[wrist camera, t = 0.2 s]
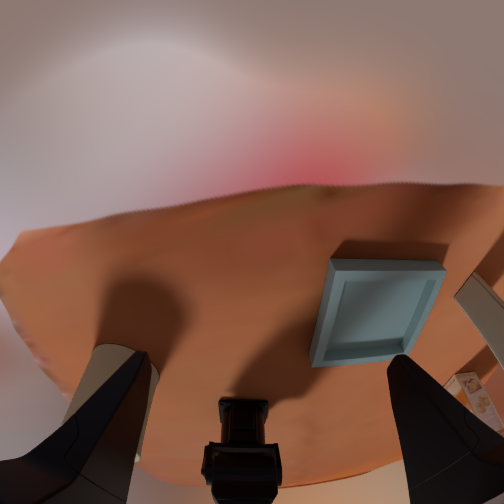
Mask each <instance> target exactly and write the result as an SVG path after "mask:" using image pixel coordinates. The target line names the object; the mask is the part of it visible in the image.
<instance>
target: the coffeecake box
mask: <svg viewBox="0 0 504 504" xmlns="http://www.w3.org/2000/svg"><path fill="white" fill-rule="evenodd" d="M444 388H445V389H446V390H447V391H448V392H449V393H450V394H452V395H453V396H454V397H455V398H456V399H457V400H458V401H459V402H461V403H462V404H463V406H465V407H466V408H467V409H468V410H469V411H471V412H472V413H473V414H474V415H475V416H476V417H478V418H479V419H480V420H481V421H483V422H484V423H485V424H487V425H488V426H489V427H491V428H492V429H493V430H495V431H496V432H497V433H499V434H500V435H502V436H503V437H504V426H503V424H502V421H501V419H500V417H499V415H498V413H497V411H496V409H495V407H494V406H493V404H492V402H491V400H490V398H489V396H488V394H487V392H486V390H485V389H484V387H483V385H482V383H481V381H480V380H479V378H478V376H477V375H476V373H475V371H473V372H469V373H459V374H454V375H453V376H452V378H451V379H450V380H449V381H448V382H447V383H446V385H445V386H444Z"/></svg>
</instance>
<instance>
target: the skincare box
mask: <svg viewBox="0 0 504 504" xmlns="http://www.w3.org/2000/svg"><path fill="white" fill-rule="evenodd" d="M454 299H455V301H456V302H457V303H458V305H459V306H460V307H461V308H462V310H463V311H464V312H465V314H466V315H467V316H468V318H469V319H470V320H471V322H472V323H473V325H474V326H475V327H476V329H477V330H478V331H479V333H480V334H481V336H482V337H483V339H484V340H485V342H486V343H487V345H488V346H489V348H490V349H491V351H492V352H493V354H494V355H495V357H496V358H497V360H498V362H499V363H500V365H501V366H502V368H503V370H504V302H503V300H502V299H501V298H500V297H499V296H498V295H497V294H496V293H495V291H494V290H493V289H492V288H491V287H490V286H489V285H488V284H487V283H486V282H485V281H484V280H483V279H482V278H481V277H480V276H479V275H478V274H477V273H476V272H475V271H474V272H473V273H472V275H471V276H470V277H469V279H468V280H467V281H466V283H465V284H464V285H463V287H462V288H461V289H460V290H459V292H458V293H457V294H456V295H455V297H454Z"/></svg>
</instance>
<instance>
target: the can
mask: <svg viewBox="0 0 504 504" xmlns="http://www.w3.org/2000/svg"><path fill="white" fill-rule="evenodd" d="M134 352H135V351H134V350H132V349H130V348H127V347H124V346H121V345H116V344H102V345H99V346H97V347H96V348H95V349H94V350H93V351H92V354H91V358H90V361H89V363H88V365H87V367H86V370H85V372H84V374H83V376H82V378H81V381H80V383H79V385H78V387H77V390H76V392H75V394H74V397H73V399H72V401H71V403H70V406H69V408H68V411H67V413H66V415H65V417H64V420H63V422H62V423H61V426H62V425H63V424H64V423H65V422H66V421H67V420H68V419H69V418H70V417H71V416H72V415H73V414H75V412H76V411H77V410H78V409H79V408H80V407H81V406H82V405H83V404H84V403H85V402H86V401H87V400H88V399H89V397H90V396H91V395H92V394H93V393H94V392H95V391H96V390H97V389H98V388H99V387H100V386H101V385H102V384H103V383H104V382H105V381H106V380H107V379H108V378H109V377H110V376H111V375H112V374H113V373H114V372H115V371H116V370H117V369H118V368H119V367H120V366H121V365H122V364H123V363H124V362H125V361H126V360H127V359H128V358H129V357H130V356H131V355H132V354H133V353H134ZM151 365H152V375H151V382H150V389H149V397H148V404H147V410H146V415H145V419H144V423H143V427H142V431H141V435H140V439H139V444H138V448H137V453H136V457H135V462H138V461H139V460H140V458H141V457H140V455H141V449H142V444H143V439H144V434H145V429H146V425H147V420H148V416H149V412H150V408H151V404H152V399H153V396H154V392H155V389H156V386H157V384H158V382H159V375H158V372H157V370H156V368H155V367H154V365H153V364H152V363H151Z"/></svg>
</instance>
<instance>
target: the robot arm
mask: <svg viewBox="0 0 504 504" xmlns="http://www.w3.org/2000/svg"><path fill="white" fill-rule="evenodd" d="M151 375H152V365H151V362H150V359H149V355H148V353H147V352H143V351H135V352H134V353H133V354H132V355H131V356H130V357H129V358H128V359H127V360H126V361H125V362H124V363H123V364H122V365H121V366H120V367H119V368H118V369H117V370H116V371H115V372H114V373H113V374H112V375H111V376H110V377H109V378H108V379H107V380H106V381H105V382H104V383H103V384H102V385H101V386H100V387H99V388H98V389H97V390H96V391H95V392H94V393H93V394H92V395H91V396H90V397H89V399H88V400H87V401H86V402H85V403H84V404H83V405H82V406H81V407H80V408H79V409H78V410H77V411H76V412H75V414H73V415H72V416H71V417H70V418H69V419H68V420H67V421H66V422H65V423H64V424H63V425H62V426H61V427H60V428H58V429H57V430H56V431H55V432H54V433H53V434H51V435H50V436H49V437H48V438H46V439H45V440H44V441H43V442H42V443H40V444H39V445H38V446H36V447H35V448H34V449H33V450H31V451H30V452H29V453H27V454H26V455H24V456H22V457H19V458H16V459H10V460H3V461H0V504H126V501H127V496H128V491H129V486H130V481H131V476H132V471H133V466H134V462H135V457H136V453H137V448H138V444H139V439H140V435H141V431H142V427H143V423H144V419H145V415H146V410H147V404H148V397H149V389H150V382H151ZM387 377H388V384H389V390H390V397H391V404H392V409H393V414H394V418H395V422H396V426H397V431H398V435H399V440H400V445H401V450H402V455H403V460H404V465H405V471H406V477H407V483H408V490H409V498H410V504H504V437H503V436H502V435H500V434H499V433H497V432H496V431H495V430H493V429H492V428H491V427H489V426H488V425H487V424H485V423H484V422H483V421H481V420H480V419H479V418H478V417H476V416H475V415H474V414H473V413H472V412H471V411H469V410H468V409H467V408H466V407H465V406H463V404H462V403H461V402H459V401H458V400H457V399H456V398H455V397H454V396H453V395H452V394H450V393H449V392H448V391H447V390H446V389H445V388H444V387H443V386H441V385H440V384H439V383H438V382H437V381H436V380H435V379H434V378H432V377H431V376H430V375H429V374H428V373H427V372H426V371H424V370H423V369H422V368H421V367H420V366H419V365H418V364H416V363H415V362H414V361H413V360H412V359H411V358H410V357H408V356H407V355H406V354H398V355H395V356H394V358H393V360H392V361H391V363H390V365H389V366H388V369H387ZM218 405H219V414H220V422H221V423H222V429H221V443H214V442H209V445H207V446H205V449H204V458H203V463H202V468H201V474H202V475H203V476H204V477H205V480H206V484H207V485H212V487H211V492H212V496H213V500H214V502H215V503H216V504H272V502H273V500H274V499H275V497H276V496H277V494H278V486H281V483H282V465H281V459H280V453H279V447H278V443H274V444H265V430H264V424H265V421H266V415H267V409H268V401H240V400H219V402H218Z"/></svg>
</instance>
